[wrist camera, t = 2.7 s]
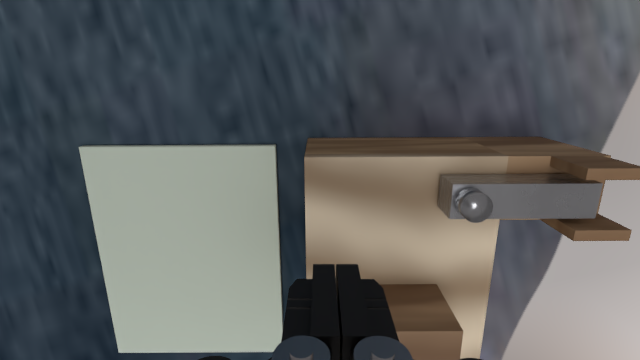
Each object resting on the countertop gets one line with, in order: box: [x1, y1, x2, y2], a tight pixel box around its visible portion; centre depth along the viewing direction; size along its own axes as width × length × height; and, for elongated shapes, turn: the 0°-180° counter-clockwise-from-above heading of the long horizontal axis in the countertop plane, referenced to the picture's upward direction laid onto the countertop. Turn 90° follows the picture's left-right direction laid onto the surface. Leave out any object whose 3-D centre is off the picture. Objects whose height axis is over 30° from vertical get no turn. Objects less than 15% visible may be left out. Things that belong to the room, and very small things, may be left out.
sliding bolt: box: [438, 174, 603, 223], centre depth 20 cm, size 2×8×3 cm, turn 90°
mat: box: [79, 145, 283, 353], centre depth 30 cm, size 19×15×1 cm
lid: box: [304, 153, 509, 360], centre depth 22 cm, size 16×12×6 cm
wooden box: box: [305, 137, 640, 241], centre depth 25 cm, size 16×18×10 cm
